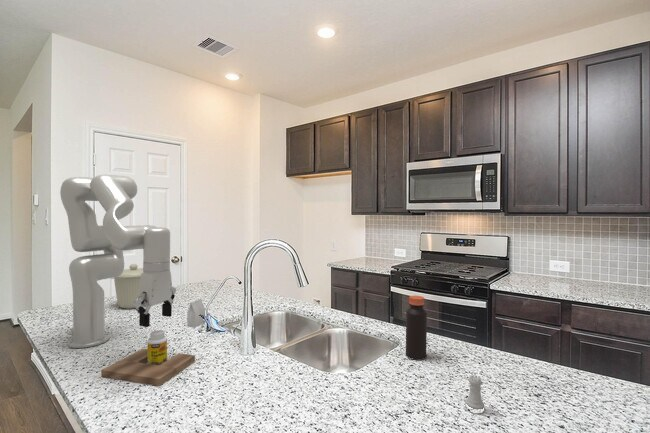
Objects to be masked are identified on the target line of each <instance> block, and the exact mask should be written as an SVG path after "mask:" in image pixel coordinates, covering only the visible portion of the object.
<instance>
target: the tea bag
mask: <svg viewBox="0 0 650 433" xmlns="http://www.w3.org/2000/svg"><path fill="white" fill-rule="evenodd" d="M202 300H203V299H202V298H200V299H197V300H195V301H192V302H190V303H189V304H190V305H189V308H188V310H187V320H186V321H187V323H186V324H187V327H189V328H197V327H199V326H200V325H202V324H204V323H205V322H204V320H203V318H202V317H201V316H199V315H200V314H201V315H205V316H206V307H205V305H204V303H203V301H202ZM203 322H204V323H203Z"/></svg>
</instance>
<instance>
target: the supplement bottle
mask: <svg viewBox="0 0 650 433" xmlns="http://www.w3.org/2000/svg"><path fill="white" fill-rule="evenodd" d="M149 337H150V338H148V339H147V349H148V363H147V364H153V365H161V364H162V363H164V362H165V361H167V360H168V338H167V336H165V331H164V330H161V329H160V330H159V329H158V330H157V329H156V330H153V331H151V332H150V333H149Z"/></svg>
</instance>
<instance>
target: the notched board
mask: <svg viewBox="0 0 650 433" xmlns="http://www.w3.org/2000/svg"><path fill="white" fill-rule="evenodd" d="M195 362H196V354H195V355H194V354H188V353H180V352H178V353H177V354H175V355H174V356H172V357H171V358H169V359H167V361H165V362H164V363H162V364H161V365H153V364H148V348H140V349H139V350H137V351H136V352H134V353H132V354H129V355H127V356H126V357H124V358H122V359H120V360H118V361H116V362H115V363H112V364H110V365H108V366H107V367H104V368H103V369H101V370H100V372H101V376H100V377H101V378H106V379H112V380H118V381H124V382H125V381H126V382H130V383H138V384H143V385H151V386H157V387H161V386H162V385H164V384H165V383H166V382H168V381H170V380H171V379H172V378H174V377H175V376H176V375H178V374H179V373H180V372H182V371H184V370H185V369H186V368H188V367H190V366H191V365H192V364H193V363H195Z"/></svg>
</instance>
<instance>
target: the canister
mask: <svg viewBox="0 0 650 433" xmlns="http://www.w3.org/2000/svg"><path fill="white" fill-rule="evenodd" d="M128 267H129V268H126V269H125V268H124V271H123V273H122V274H121V275H120V276H117V277H114V278H113V281H114V288H115V297H116V302H117V305H118V307H120V308H121V309H127V310H128V309H129V310H132V309H135V306H134V304H133V302H134V301H135V300H136V299H137V298H138V290H139V282H140V277H141V273H143V267H138V265H137V263H131V264H130V265H129V266H128Z"/></svg>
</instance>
